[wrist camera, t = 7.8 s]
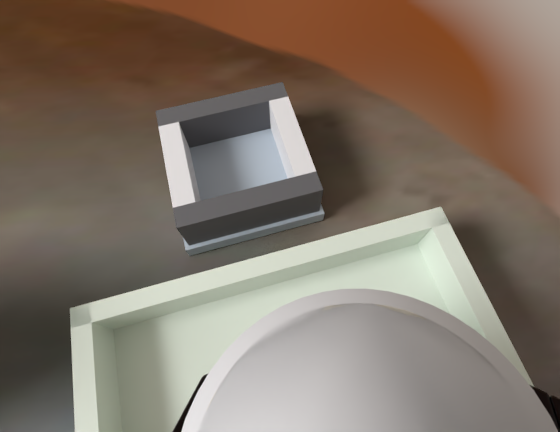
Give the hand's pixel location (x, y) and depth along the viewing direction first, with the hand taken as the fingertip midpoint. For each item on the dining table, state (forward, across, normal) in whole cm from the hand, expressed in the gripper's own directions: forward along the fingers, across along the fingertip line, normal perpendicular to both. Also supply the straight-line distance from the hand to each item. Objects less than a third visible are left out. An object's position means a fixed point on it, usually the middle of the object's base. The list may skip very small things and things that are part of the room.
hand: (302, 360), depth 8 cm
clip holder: (+13, 0, -1) cm, 13 cm away
